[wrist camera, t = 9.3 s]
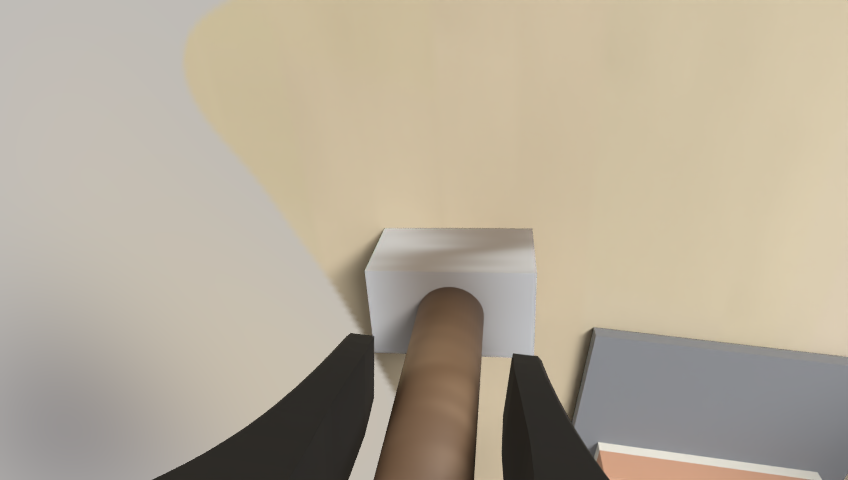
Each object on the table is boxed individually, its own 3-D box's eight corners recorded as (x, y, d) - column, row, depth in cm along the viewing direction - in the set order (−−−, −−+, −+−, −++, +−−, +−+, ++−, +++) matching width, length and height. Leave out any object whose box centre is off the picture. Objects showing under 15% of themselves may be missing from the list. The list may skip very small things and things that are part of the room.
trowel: (532, 228, 18) (558, 481, 9) (529, 304, 19) (550, 590, 10) (384, 228, 19) (274, 461, 10) (392, 301, 20) (301, 566, 11)
